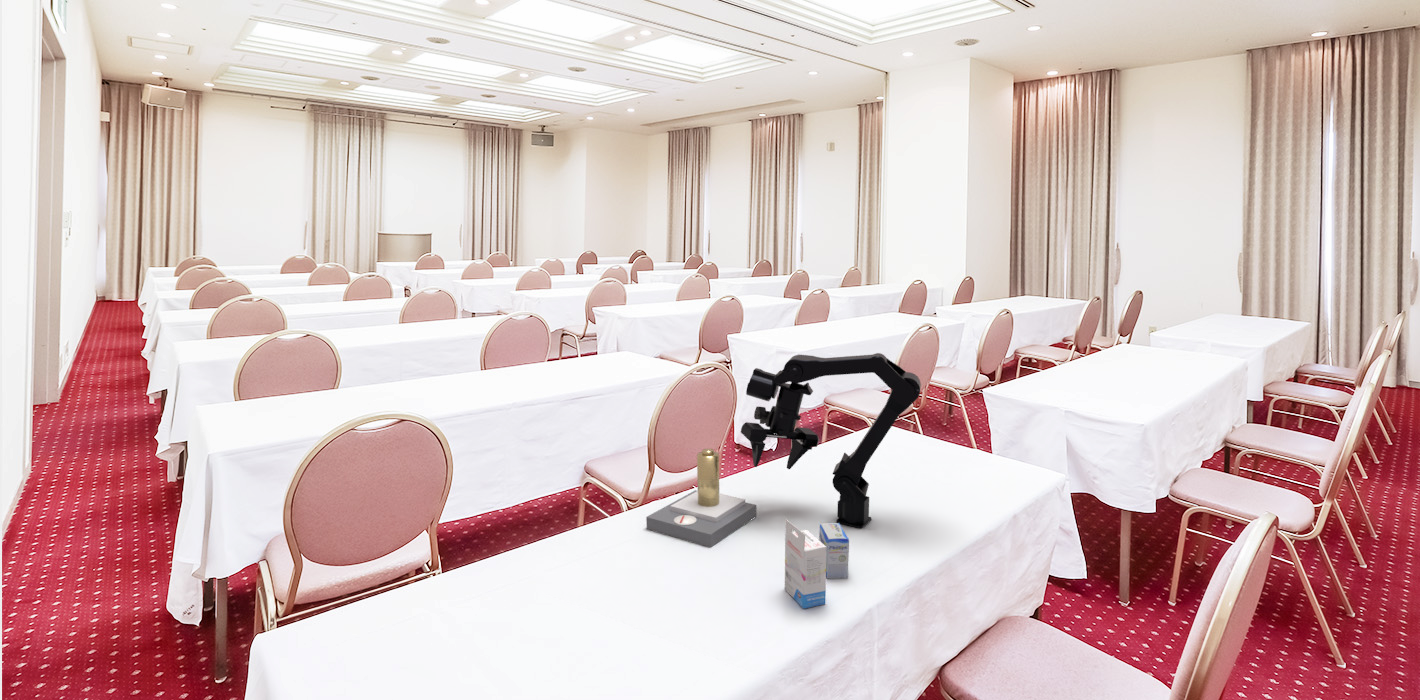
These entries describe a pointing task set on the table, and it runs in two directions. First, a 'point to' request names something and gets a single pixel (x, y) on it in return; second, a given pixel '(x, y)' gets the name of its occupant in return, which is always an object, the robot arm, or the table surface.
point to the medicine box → (835, 550)
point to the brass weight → (708, 477)
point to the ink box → (805, 567)
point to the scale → (701, 518)
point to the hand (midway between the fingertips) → (771, 467)
